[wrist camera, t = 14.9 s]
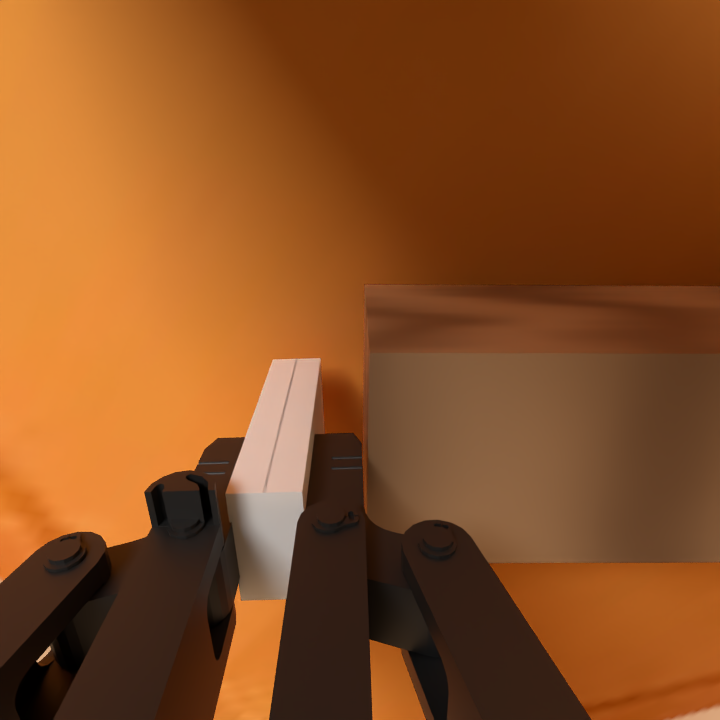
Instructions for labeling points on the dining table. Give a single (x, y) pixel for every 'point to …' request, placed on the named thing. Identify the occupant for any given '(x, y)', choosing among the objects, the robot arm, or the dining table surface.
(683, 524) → the walnut bar
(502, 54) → the dining table surface
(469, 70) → the dining table surface
